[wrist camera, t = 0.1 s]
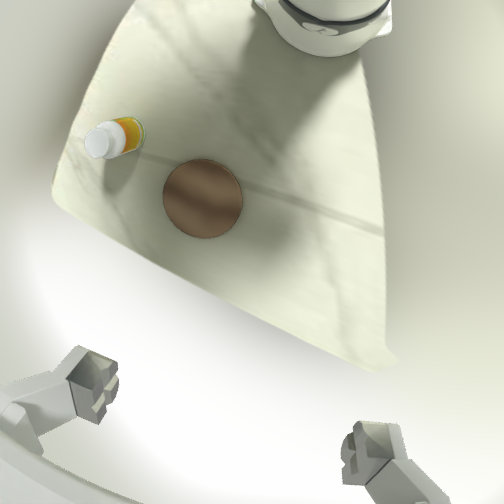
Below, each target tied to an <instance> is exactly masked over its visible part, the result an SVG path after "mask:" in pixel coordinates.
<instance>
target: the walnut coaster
mask: <svg viewBox="0 0 504 504" xmlns="http://www.w3.org/2000/svg"><path fill="white" fill-rule="evenodd" d="M163 203H164V207H165V210H166V213H167V215H168V217H169V218H170V220H171V221H172V222H173V224H174V225H175V226H176V227H177V228H178V229H180V230H181V231H183V232H184V233H186V234H188V235H190V236H194V237H198V238H212V237H216V236H219V235H221V234H223V233H225V232H226V231H228V230H229V229H230V228H231V227H232V226H233V225H234V224H235V222H236V220H237V219H238V217H239V214H240V212H241V208H242V193H241V189H240V186H239V184H238V182H237V180H236V178H235V177H234V176H233V174H232V173H231V172H230V171H229V170H228V169H227V168H225V167H224V166H222V165H221V164H219V163H216V162H214V161H210V160H204V159H198V160H192V161H189V162H186V163H184V164H182V165H181V166H179V167H177V168H176V169H175V170H174V171H173V172H172V173H171V174H170V176H169V177H168V179H167V181H166V183H165V186H164V191H163Z"/></svg>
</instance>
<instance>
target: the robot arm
mask: <svg viewBox="0 0 504 504" xmlns="http://www.w3.org/2000/svg"><path fill="white" fill-rule="evenodd" d="M254 1H255V3H256V4H257V5H258V6H259V7H260V8H261V9H263V10H264V11H265V12H266V13H267V14H268V15H269V17H270V18H271V20H272V23H273V25H274V27H275V28H276V30H277V31H278V33H279V34H280V35H281V36H282V37H283V38H284V39H285V40H286V41H287V42H288V43H289V44H291V45H292V46H294V47H295V48H297V49H299V50H301V51H303V52H306V53H308V54H312V55H316V56H323V57H335V56H342V55H346V54H349V53H351V52H353V51H355V50H357V49H359V48H360V47H362V46H363V45H364V44H365V43H367V42H368V41H369V40H371V39H374V38H379V37H383V36H386V35H388V34H389V33H390V32H391V30H392V13H391V0H254ZM117 370H118V363H117V362H116V361H114V360H112V359H109V358H107V357H104V356H102V355H100V354H98V353H96V352H93V351H91V350H88V349H86V348H84V347H82V346H79V345H78V346H76V347H74V348H73V349H72V351H71V352H70V353H69V354H68V355H67V356H66V357H65V358H64V360H63V361H62V362H61V363H60V364H59V365H58V367H57V368H56V369H55V370H54V371H53V372H50V371H47V372H44V373H41V374H38V375H34V376H31V377H28V378H24V379H21V380H18V381H14V382H11V383H7V384H4V385H1V386H0V504H142V503H139V502H137V501H134V500H132V499H129V498H126V497H124V496H121V495H119V494H116V493H114V492H111V491H109V490H107V489H104V488H102V487H100V486H98V485H95V484H93V483H91V482H89V481H87V480H85V479H83V478H81V477H79V476H77V475H75V474H73V473H71V472H69V471H67V470H65V469H63V468H61V467H59V466H58V465H55V464H54V463H52V462H50V461H49V460H47V459H45V458H44V457H42V454H43V452H44V451H43V448H42V446H41V444H40V442H39V440H38V436H40V435H42V434H45V433H47V432H49V431H50V430H52V429H54V428H56V427H58V426H60V425H62V424H64V423H66V422H68V421H70V420H72V419H74V418H76V417H77V416H79V417H81V418H83V419H86V420H88V421H91V422H93V423H95V424H98V425H99V423H100V422H101V420H102V418H103V417H104V415H105V414H106V412H107V411H106V405H108V404H110V403H112V402H113V400H114V399H115V397H116V394H117V391H118V386H119V379H118V377H117V376H116V374H115V373H116V372H117ZM341 459H342V461H343V462H344V463H345V466H344V467H343V468H342V479H343V484H346V485H362V486H365V488H366V490H367V491H368V493H369V494H370V496H371V497H372V499H373V500H374V502H375V503H376V504H451V503H450V499H449V497H448V496H447V495H446V494H445V493H444V492H443V491H442V490H441V489H440V488H439V487H438V486H437V485H436V484H435V483H434V482H433V481H432V480H431V479H430V478H429V477H428V476H427V475H426V474H425V473H424V472H423V471H422V470H421V469H420V468H419V467H418V466H417V465H416V464H415V462H414V461H413V460H412V459H408V457H407V453H406V449H405V445H404V441H403V437H402V433H401V429H400V426H399V425H398V424H391V423H380V422H367V421H358V422H356V423H355V425H354V426H353V432H352V433H350V434H348V435H347V436H346V438H345V439H344V441H343V444H342V447H341Z"/></svg>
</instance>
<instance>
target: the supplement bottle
mask: <svg viewBox="0 0 504 504" xmlns="http://www.w3.org/2000/svg"><path fill="white" fill-rule="evenodd" d="M144 139H145V128H144V126H143V124H142V122H141V121H140V120H139V119H137V118H135V117H124V118H119V119H114V120H108V121H104V122H102V123H100V124H98V125H97V126H96V127H95V129H92V130H90V131H89V132H88V133H87V135H86V137H85V142H84V145H85V149H86V152H87V153H88V155H90V156H91V157H93V158H104V159H112V158H115V157H118V156H120V155H123V154H126V153H128V152H131V151H133V150H136V149H137V148H139V147H140V146H141V145H142V143H143V141H144Z"/></svg>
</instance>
